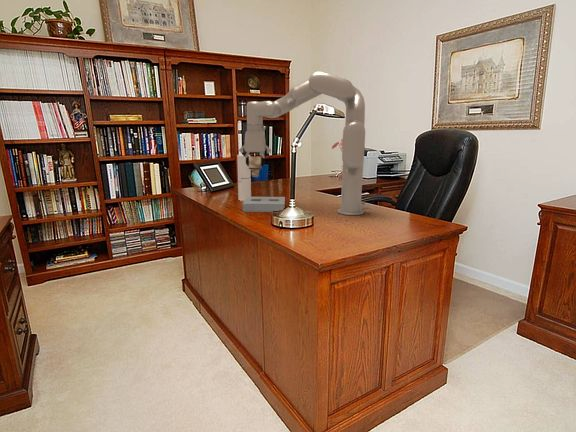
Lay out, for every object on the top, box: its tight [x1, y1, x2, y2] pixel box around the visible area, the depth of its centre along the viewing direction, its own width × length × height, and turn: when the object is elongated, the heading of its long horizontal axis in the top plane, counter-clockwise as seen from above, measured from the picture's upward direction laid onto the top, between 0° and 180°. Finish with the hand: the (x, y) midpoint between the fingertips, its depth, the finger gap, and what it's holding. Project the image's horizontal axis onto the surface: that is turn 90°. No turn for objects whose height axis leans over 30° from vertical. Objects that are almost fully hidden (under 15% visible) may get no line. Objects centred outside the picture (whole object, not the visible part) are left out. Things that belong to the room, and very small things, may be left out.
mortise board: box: [242, 196, 286, 213], centre depth 177 cm, size 20×18×4 cm
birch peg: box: [249, 155, 263, 178], centre depth 173 cm, size 6×6×10 cm
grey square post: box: [236, 154, 252, 202], centre depth 195 cm, size 7×7×25 cm
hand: (255, 165), depth 173 cm, fingers closed on birch peg, 6 cm apart
